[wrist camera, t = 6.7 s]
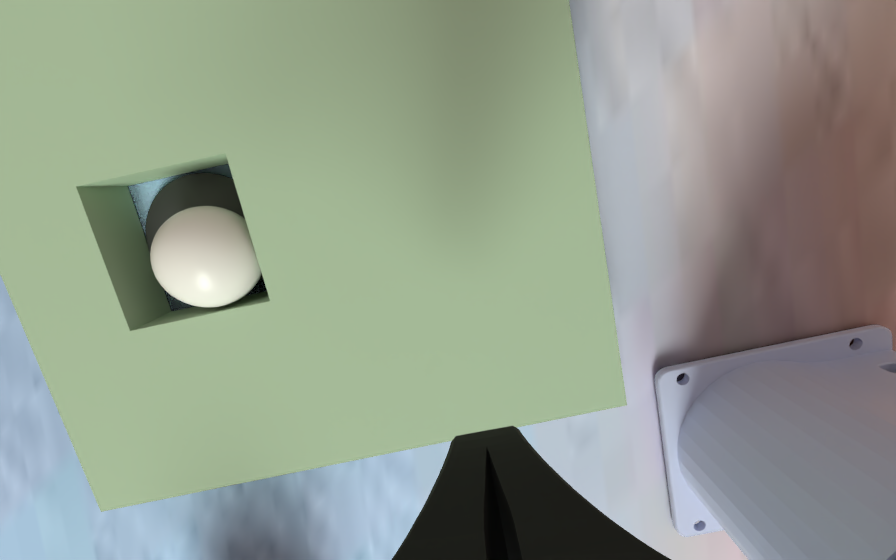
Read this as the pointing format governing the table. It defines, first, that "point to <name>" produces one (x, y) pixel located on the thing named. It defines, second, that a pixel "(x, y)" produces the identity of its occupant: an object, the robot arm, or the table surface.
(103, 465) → the putting mat
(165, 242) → the ball
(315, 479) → the table surface
